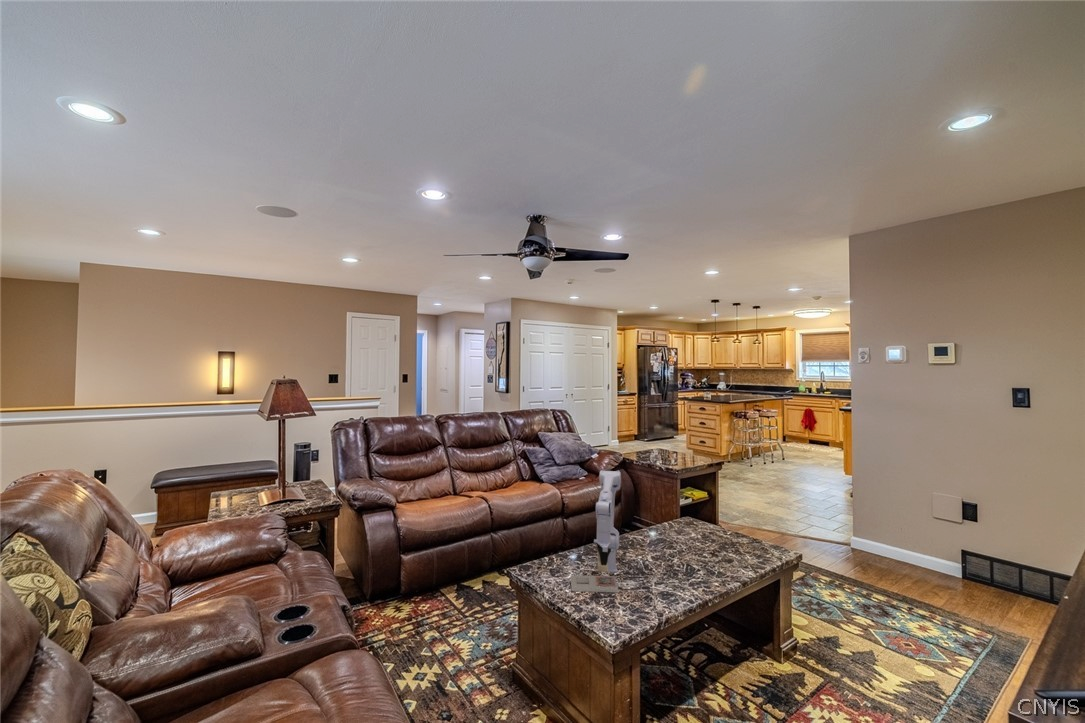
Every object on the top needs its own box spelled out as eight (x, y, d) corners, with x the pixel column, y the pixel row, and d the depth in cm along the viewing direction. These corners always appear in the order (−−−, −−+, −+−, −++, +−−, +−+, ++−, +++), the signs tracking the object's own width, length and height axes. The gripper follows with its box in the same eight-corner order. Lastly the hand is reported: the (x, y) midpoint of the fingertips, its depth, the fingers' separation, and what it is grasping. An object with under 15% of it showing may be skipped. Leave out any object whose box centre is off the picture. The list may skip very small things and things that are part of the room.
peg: (597, 567, 191) (597, 548, 191) (606, 567, 191) (607, 548, 191) (598, 571, 187) (598, 552, 187) (607, 571, 187) (608, 552, 187)
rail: (570, 579, 194) (570, 574, 194) (614, 581, 194) (614, 575, 194) (571, 591, 184) (571, 585, 184) (618, 592, 184) (618, 587, 184)
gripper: (592, 523, 197) (592, 555, 196) (595, 535, 182) (595, 569, 182) (608, 524, 196) (608, 555, 196) (612, 536, 182) (612, 570, 182)
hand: (603, 562), depth 189 cm, fingers closed on peg, 4 cm apart
